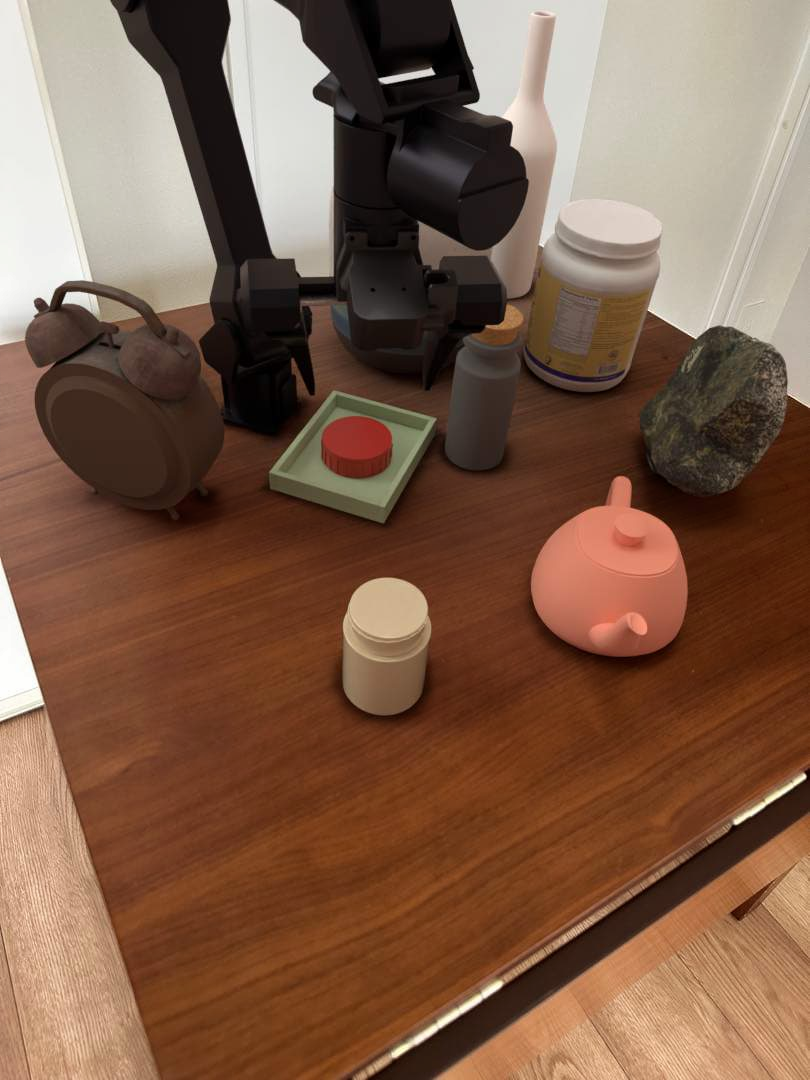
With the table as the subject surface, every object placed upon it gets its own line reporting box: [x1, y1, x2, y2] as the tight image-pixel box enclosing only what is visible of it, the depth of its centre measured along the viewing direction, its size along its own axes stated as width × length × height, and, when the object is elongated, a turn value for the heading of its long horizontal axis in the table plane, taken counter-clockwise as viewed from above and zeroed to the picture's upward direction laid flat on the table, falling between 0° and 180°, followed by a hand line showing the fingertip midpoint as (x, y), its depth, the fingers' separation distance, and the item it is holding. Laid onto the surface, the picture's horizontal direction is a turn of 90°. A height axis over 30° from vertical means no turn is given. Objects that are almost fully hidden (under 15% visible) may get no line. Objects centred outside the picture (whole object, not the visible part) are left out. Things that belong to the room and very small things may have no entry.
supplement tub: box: [523, 198, 664, 393], centre depth 83 cm, size 12×12×17 cm
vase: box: [328, 184, 493, 374], centre depth 81 cm, size 17×17×24 cm
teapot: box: [530, 475, 689, 658], centre depth 59 cm, size 12×18×10 cm
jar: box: [341, 577, 432, 716], centre depth 54 cm, size 6×6×8 cm
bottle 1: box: [444, 303, 524, 471], centre depth 71 cm, size 6×6×15 cm
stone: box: [637, 324, 789, 498], centre depth 70 cm, size 15×10×15 cm
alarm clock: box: [24, 279, 225, 521], centre depth 62 cm, size 15×7×20 cm, turn 71°
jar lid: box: [321, 416, 393, 478], centre depth 73 cm, size 7×7×2 cm
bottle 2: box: [491, 10, 558, 300], centre depth 91 cm, size 8×8×30 cm
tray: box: [268, 389, 438, 524], centre depth 74 cm, size 11×14×2 cm
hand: (369, 390), depth 62 cm, fingers open, 9 cm apart
